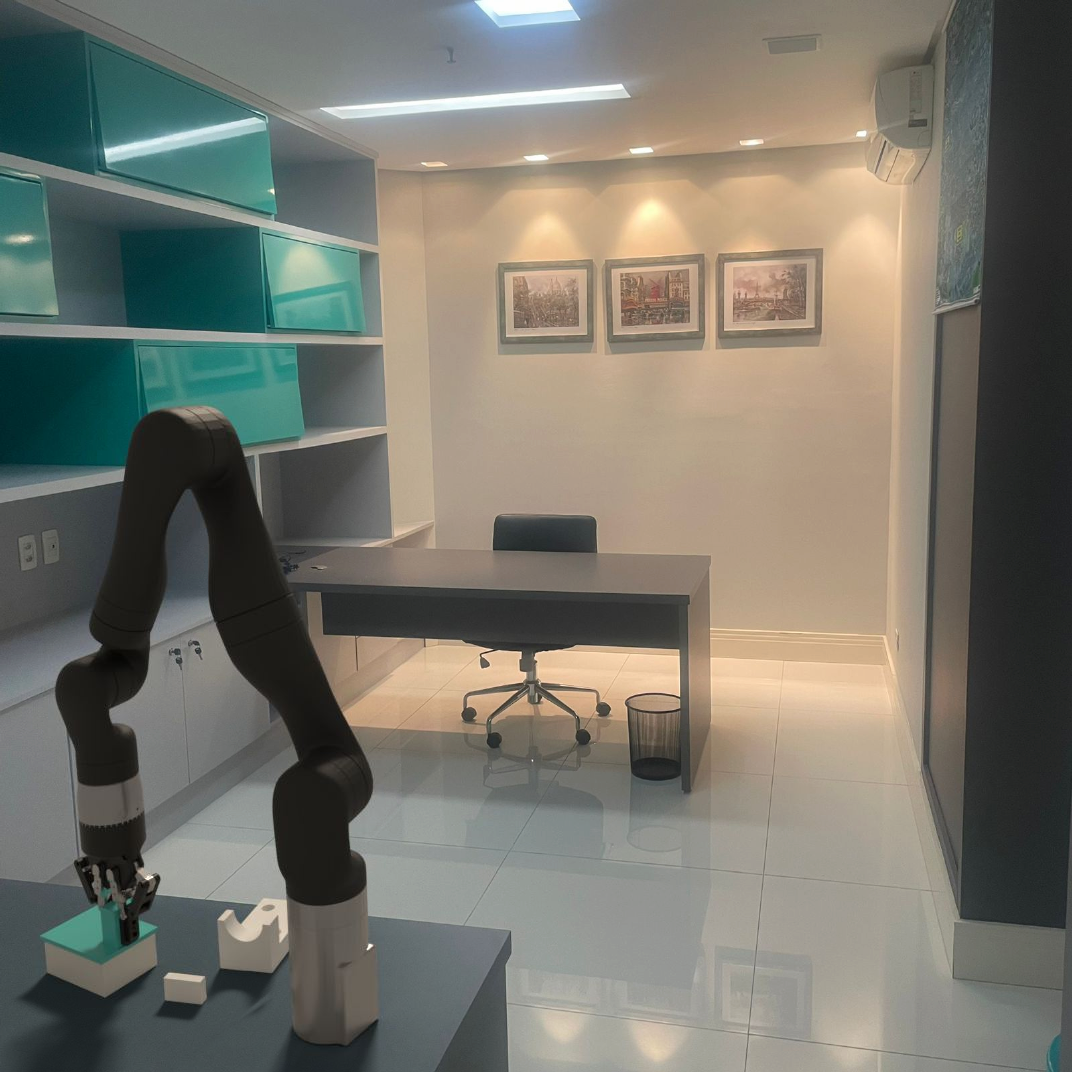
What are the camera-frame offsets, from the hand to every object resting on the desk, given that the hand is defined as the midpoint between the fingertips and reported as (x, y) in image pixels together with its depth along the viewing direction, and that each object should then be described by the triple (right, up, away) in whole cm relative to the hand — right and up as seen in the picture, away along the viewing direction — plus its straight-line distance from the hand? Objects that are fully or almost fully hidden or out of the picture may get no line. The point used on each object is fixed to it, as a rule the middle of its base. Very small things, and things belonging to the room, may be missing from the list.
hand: (122, 939), depth 132 cm
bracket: (+16, -5, +9) cm, 19 cm away
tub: (-4, -6, +3) cm, 7 cm away
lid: (-4, 0, +2) cm, 4 cm away
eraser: (+9, -7, -3) cm, 12 cm away
